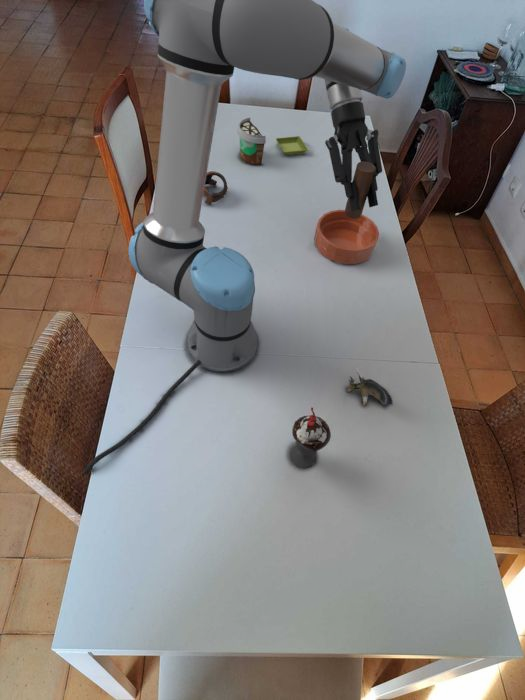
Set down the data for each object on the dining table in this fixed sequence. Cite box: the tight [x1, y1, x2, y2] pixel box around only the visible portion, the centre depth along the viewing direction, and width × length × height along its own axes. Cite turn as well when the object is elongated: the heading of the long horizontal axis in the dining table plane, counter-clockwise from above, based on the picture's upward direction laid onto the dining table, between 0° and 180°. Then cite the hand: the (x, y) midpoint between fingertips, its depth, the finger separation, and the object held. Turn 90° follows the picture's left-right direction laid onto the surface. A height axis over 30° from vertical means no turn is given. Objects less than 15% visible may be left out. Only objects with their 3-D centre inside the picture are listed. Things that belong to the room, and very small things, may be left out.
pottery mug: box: [203, 170, 229, 206], centre depth 130 cm, size 12×10×8 cm
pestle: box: [344, 161, 376, 219], centre depth 110 cm, size 4×4×13 cm
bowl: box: [313, 209, 380, 265], centre depth 122 cm, size 16×16×6 cm
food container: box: [236, 117, 267, 166], centre depth 141 cm, size 12×6×10 cm, turn 25°
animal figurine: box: [347, 368, 393, 406], centre depth 93 cm, size 8×7×9 cm
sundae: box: [289, 406, 332, 469], centre depth 81 cm, size 7×7×15 cm
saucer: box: [275, 135, 309, 156], centre depth 150 cm, size 9×9×2 cm
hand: (364, 208), depth 110 cm, fingers closed on pestle, 4 cm apart
